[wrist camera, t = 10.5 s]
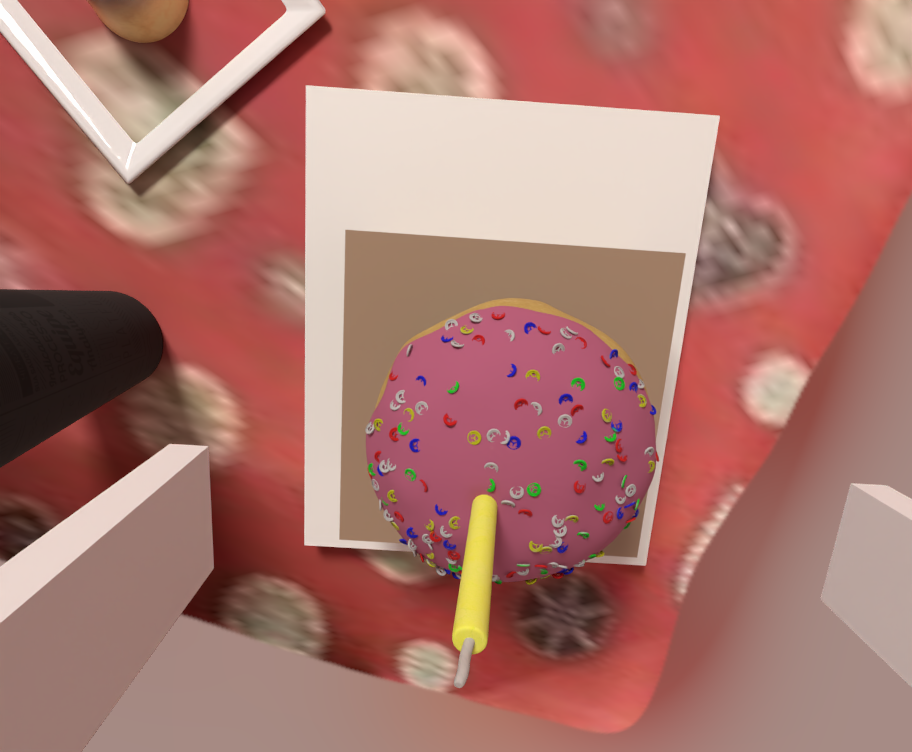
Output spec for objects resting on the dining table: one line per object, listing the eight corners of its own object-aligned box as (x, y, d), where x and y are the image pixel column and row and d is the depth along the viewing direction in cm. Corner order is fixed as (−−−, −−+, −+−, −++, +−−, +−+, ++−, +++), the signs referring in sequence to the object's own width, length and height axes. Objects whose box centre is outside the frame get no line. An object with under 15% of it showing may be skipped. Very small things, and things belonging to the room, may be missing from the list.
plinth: (311, 530, 30) (265, 621, 23) (314, 94, 25) (256, 31, 18) (636, 550, 30) (694, 646, 23) (704, 123, 25) (806, 72, 18)
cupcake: (493, 548, 22) (536, 894, 10) (336, 402, 20) (176, 609, 9) (658, 403, 20) (929, 610, 9) (502, 237, 19) (576, 218, 7)
